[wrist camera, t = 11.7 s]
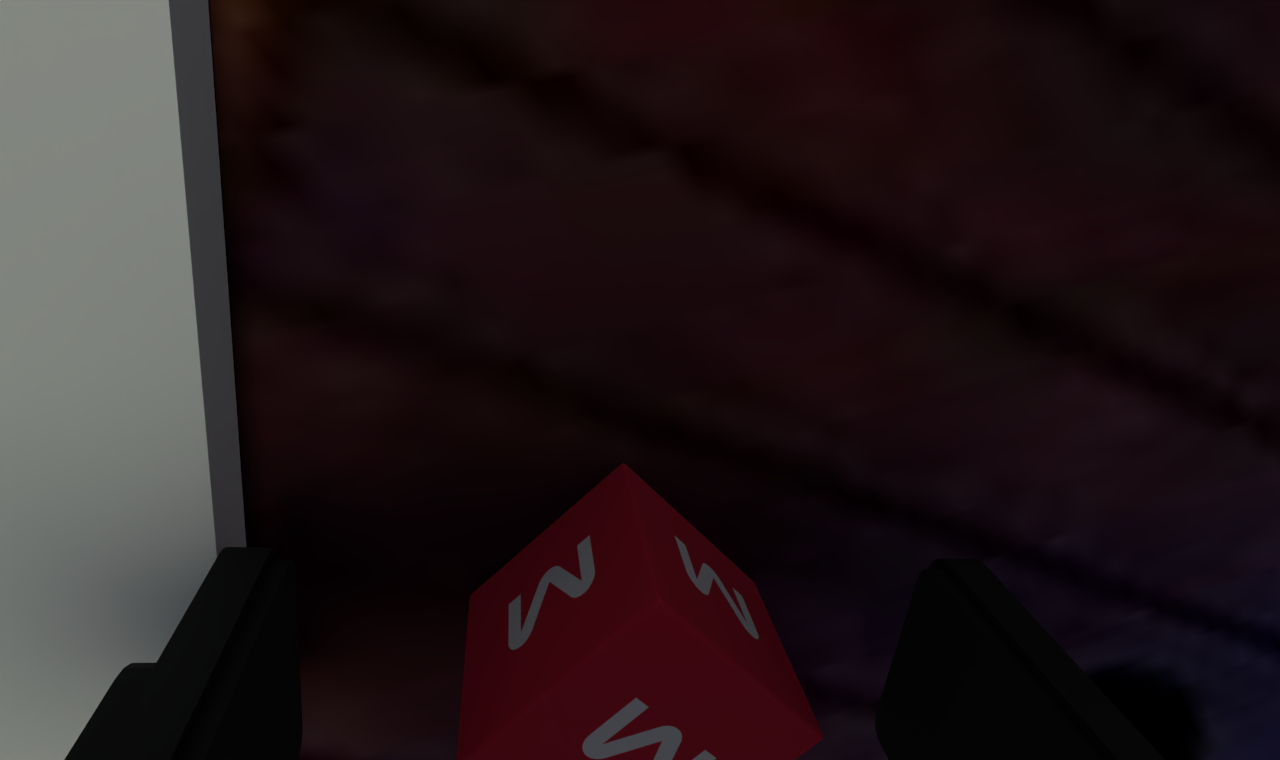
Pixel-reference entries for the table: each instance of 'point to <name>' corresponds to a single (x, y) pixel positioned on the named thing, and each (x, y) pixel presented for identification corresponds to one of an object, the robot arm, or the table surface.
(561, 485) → the table surface
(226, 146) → the table surface
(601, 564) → the red letter cube
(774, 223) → the table surface
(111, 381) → the pad
